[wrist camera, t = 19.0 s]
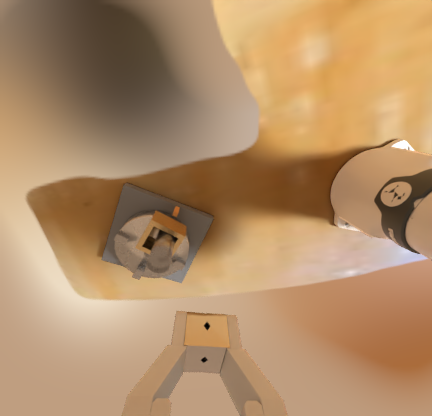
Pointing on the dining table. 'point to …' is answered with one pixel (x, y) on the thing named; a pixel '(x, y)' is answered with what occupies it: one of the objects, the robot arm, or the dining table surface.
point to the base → (145, 200)
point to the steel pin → (161, 252)
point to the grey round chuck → (150, 242)
